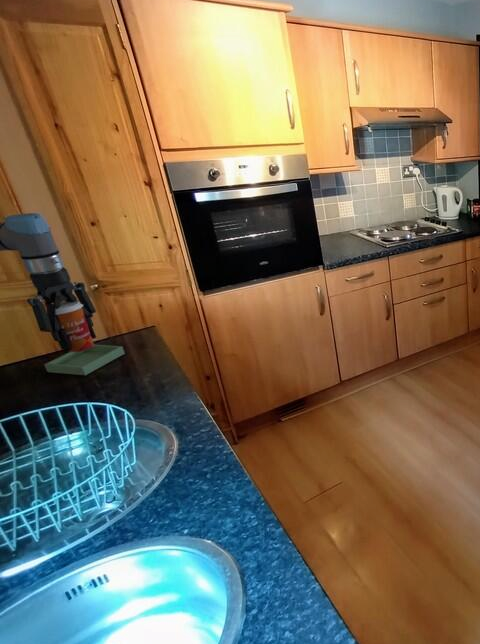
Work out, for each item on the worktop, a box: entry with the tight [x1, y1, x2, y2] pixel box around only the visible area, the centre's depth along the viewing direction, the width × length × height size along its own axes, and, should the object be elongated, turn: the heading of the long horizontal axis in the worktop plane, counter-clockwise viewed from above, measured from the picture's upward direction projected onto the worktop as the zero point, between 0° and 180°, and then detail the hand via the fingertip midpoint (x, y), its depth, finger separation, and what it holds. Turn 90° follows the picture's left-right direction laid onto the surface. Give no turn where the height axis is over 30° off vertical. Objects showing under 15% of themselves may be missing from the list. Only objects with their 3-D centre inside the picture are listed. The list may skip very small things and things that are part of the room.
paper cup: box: [55, 300, 95, 352], centre depth 132 cm, size 8×8×14 cm
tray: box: [43, 343, 126, 376], centre depth 136 cm, size 13×13×3 cm
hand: (79, 343), depth 134 cm, fingers closed on paper cup, 6 cm apart
